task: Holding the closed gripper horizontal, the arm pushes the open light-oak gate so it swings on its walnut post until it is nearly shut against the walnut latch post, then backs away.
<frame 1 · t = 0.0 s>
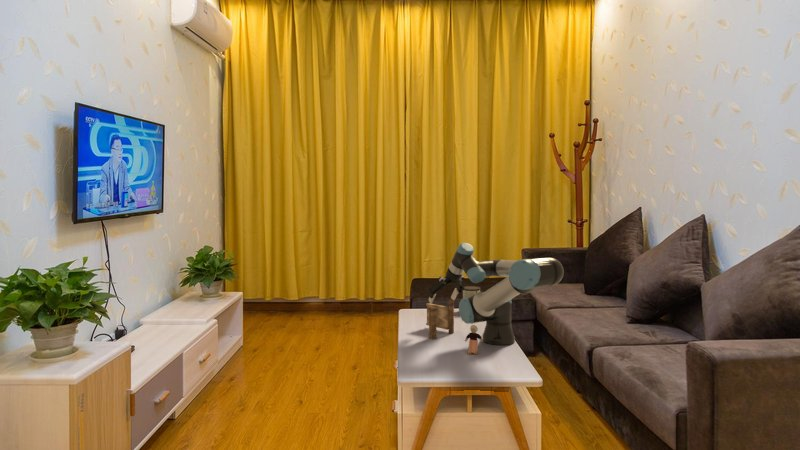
hand: (441, 300, 264), 15 cm above the table, tool tilted 35°, fingers open, 13 cm apart
coffee can: (471, 311, 306), on the table
grandmother figurine: (473, 354, 227), on the table
hinge post: (451, 332, 260), on the table
latch post: (432, 338, 250), on the table
gate: (437, 316, 265), point 7 cm above the table, hinge at 0.0°
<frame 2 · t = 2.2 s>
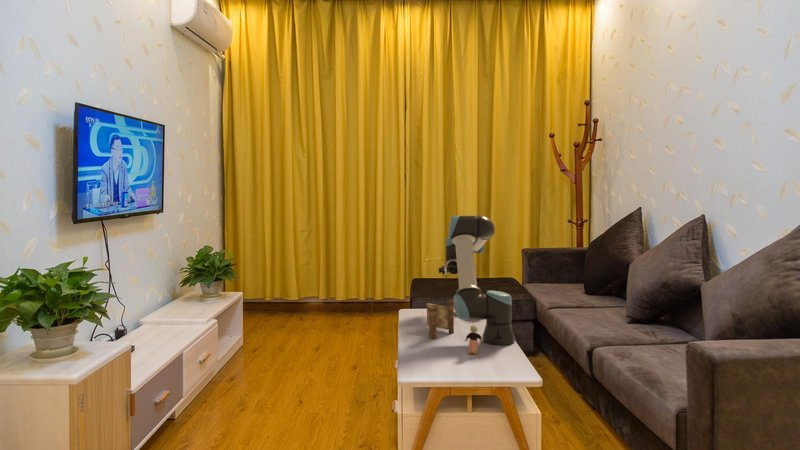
hand: (456, 273, 271), 28 cm above the table, tool horizontal, fingers open, 11 cm apart
nothing on the table moved.
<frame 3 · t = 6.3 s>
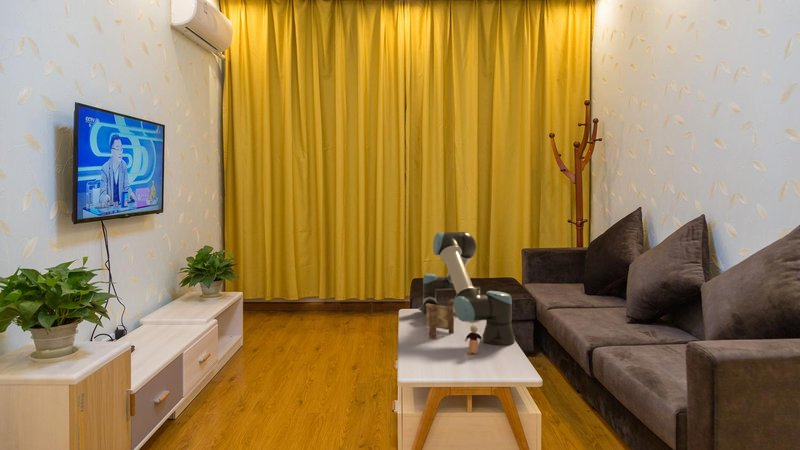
hand: (431, 315, 268), 7 cm above the table, tool horizontal, fingers closed
gate: (437, 316, 264), point 7 cm above the table, hinge at 2.7°
everything else where it was.
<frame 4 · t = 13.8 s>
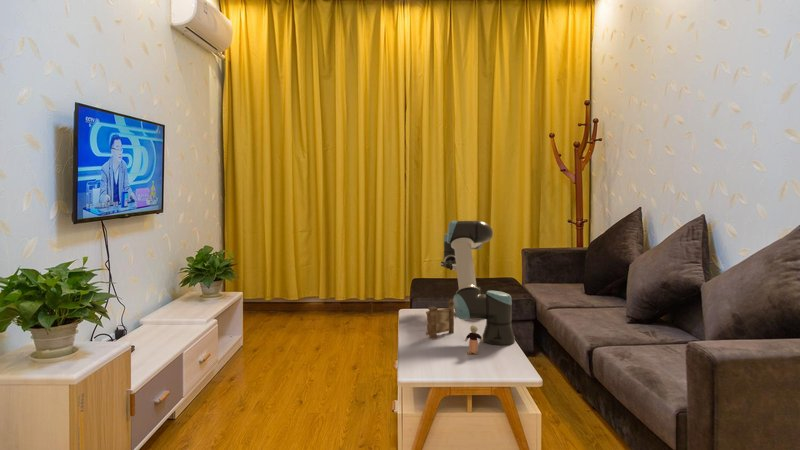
hand: (454, 268, 274), 30 cm above the table, tool horizontal, fingers closed
gate: (438, 321, 254), point 7 cm above the table, hinge at 76.1°
everything else where it was.
at the end: gate at +76° (first picture: +0°) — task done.
